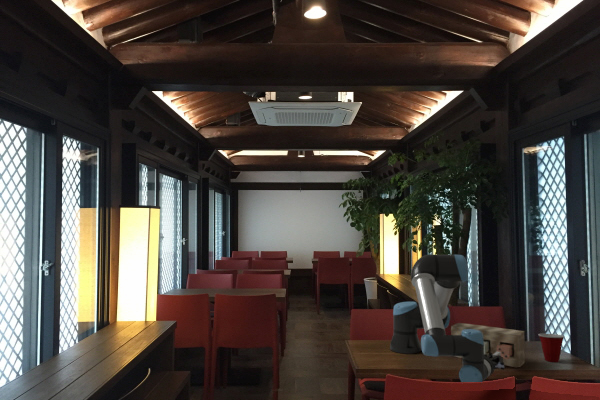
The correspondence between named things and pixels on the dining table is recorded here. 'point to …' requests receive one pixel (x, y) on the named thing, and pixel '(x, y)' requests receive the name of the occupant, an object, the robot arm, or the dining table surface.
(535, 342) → the dining table surface
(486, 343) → the button
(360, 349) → the dining table surface
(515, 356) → the console
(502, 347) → the button
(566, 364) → the dining table surface
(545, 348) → the plastic cup
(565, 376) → the dining table surface
